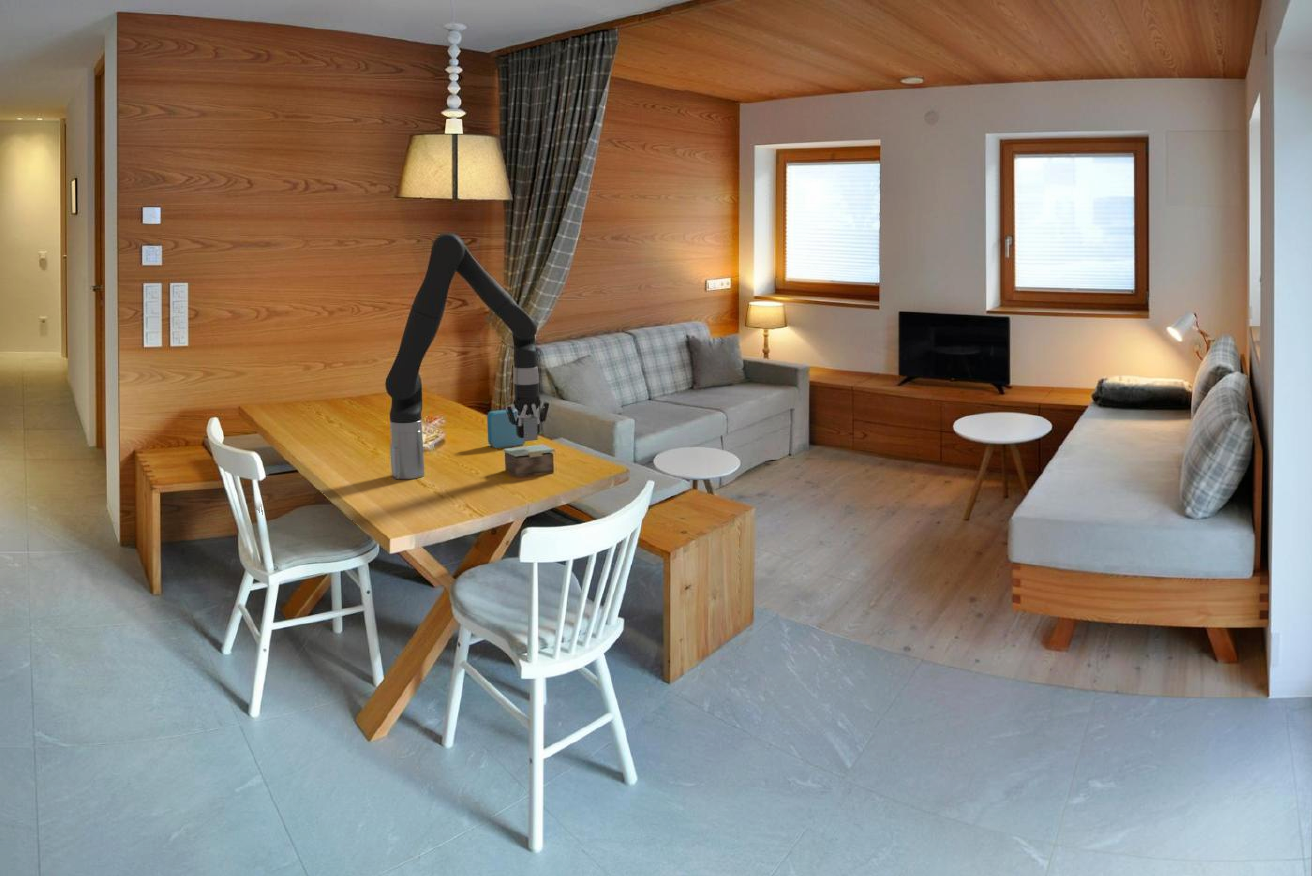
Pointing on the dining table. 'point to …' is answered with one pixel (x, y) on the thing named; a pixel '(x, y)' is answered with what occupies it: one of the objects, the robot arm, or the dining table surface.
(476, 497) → the dining table surface
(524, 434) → the block
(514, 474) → the walnut box
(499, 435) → the data package
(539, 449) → the box lid
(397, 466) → the robot arm
